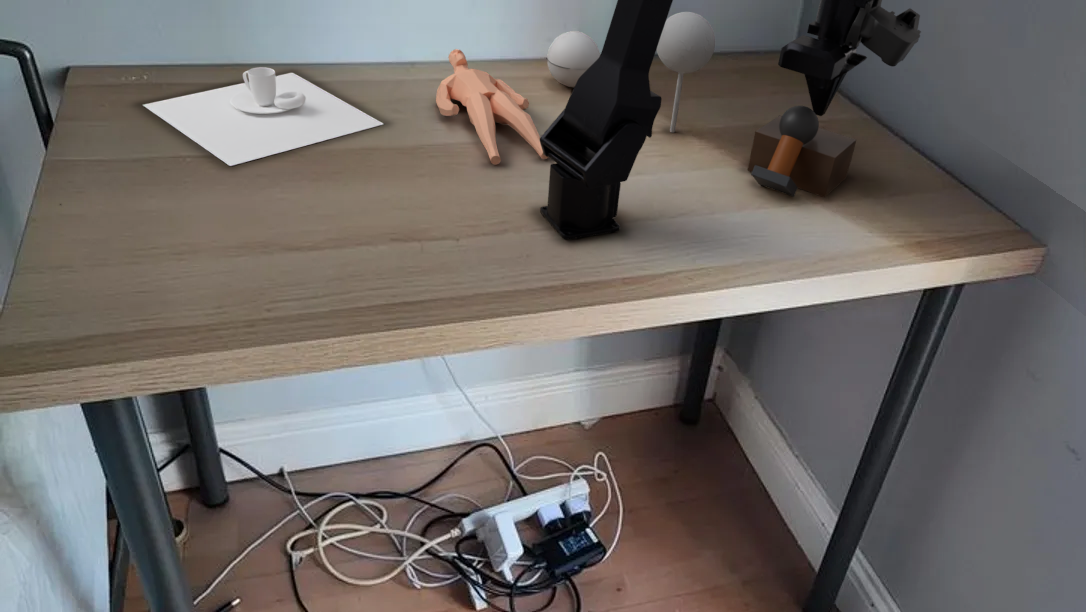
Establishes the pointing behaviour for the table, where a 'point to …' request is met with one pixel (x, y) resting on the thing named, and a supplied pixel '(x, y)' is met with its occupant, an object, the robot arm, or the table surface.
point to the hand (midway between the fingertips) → (818, 114)
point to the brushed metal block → (807, 157)
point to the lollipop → (685, 48)
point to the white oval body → (571, 56)
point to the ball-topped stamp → (788, 149)
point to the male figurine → (486, 104)
